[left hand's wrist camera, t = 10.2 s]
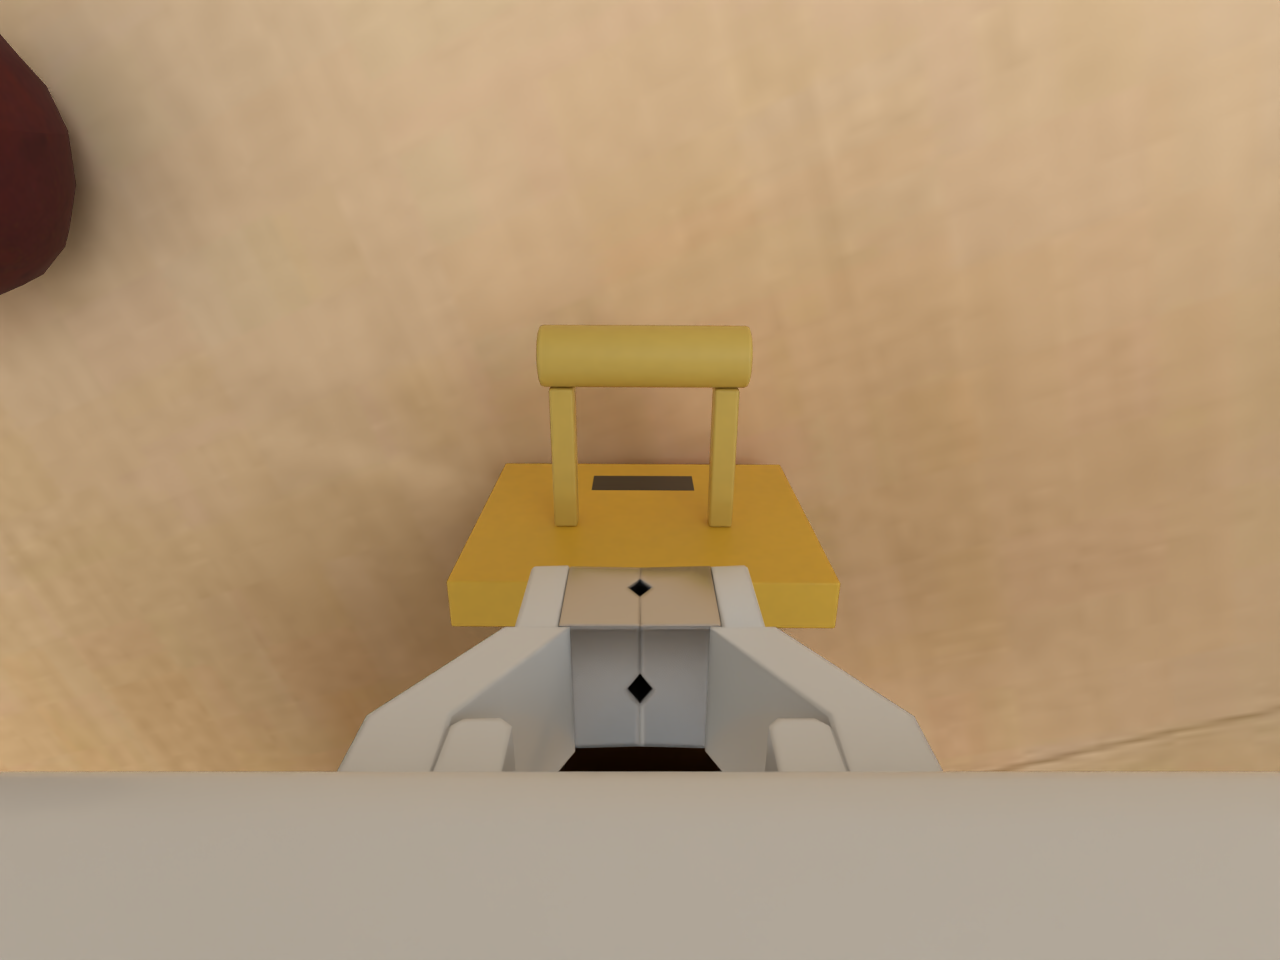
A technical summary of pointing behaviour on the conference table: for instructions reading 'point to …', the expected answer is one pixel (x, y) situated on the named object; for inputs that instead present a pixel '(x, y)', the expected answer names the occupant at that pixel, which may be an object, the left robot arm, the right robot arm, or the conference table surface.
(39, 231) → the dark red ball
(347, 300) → the conference table surface
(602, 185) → the conference table surface
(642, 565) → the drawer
